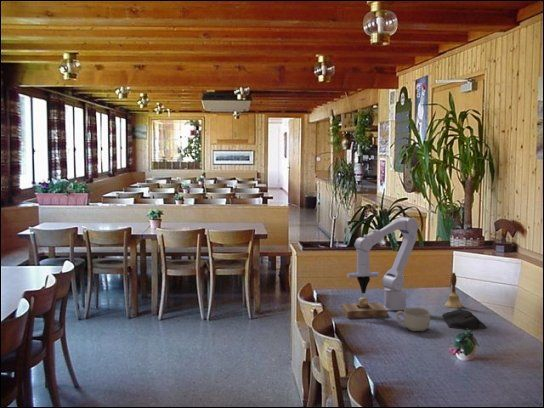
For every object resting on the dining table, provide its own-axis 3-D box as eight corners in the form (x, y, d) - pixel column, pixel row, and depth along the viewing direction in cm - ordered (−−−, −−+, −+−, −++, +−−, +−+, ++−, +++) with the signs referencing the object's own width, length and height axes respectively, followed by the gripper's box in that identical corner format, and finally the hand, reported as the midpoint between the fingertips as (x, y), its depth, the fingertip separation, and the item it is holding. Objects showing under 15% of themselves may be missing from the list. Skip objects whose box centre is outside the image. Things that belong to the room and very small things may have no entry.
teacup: (432, 327, 251) (432, 309, 250) (427, 335, 241) (427, 315, 240) (399, 324, 257) (399, 305, 256) (393, 331, 247) (393, 312, 246)
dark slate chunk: (474, 315, 268) (474, 305, 268) (487, 330, 247) (487, 319, 246) (439, 315, 270) (439, 305, 269) (449, 330, 248) (449, 319, 248)
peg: (369, 312, 276) (369, 297, 275) (366, 314, 272) (366, 299, 271) (360, 311, 277) (360, 296, 277) (358, 313, 274) (357, 298, 273)
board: (379, 308, 282) (379, 302, 282) (386, 316, 268) (386, 310, 268) (341, 309, 281) (341, 303, 281) (347, 318, 267) (347, 311, 267)
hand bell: (441, 305, 285) (441, 272, 284) (451, 302, 290) (451, 270, 289) (455, 309, 279) (456, 275, 277) (466, 306, 284) (466, 273, 282)
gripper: (376, 261, 278) (376, 290, 279) (345, 262, 277) (346, 291, 278) (380, 264, 271) (380, 293, 272) (348, 265, 270) (349, 294, 271)
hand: (363, 292), depth 275 cm, fingers closed
